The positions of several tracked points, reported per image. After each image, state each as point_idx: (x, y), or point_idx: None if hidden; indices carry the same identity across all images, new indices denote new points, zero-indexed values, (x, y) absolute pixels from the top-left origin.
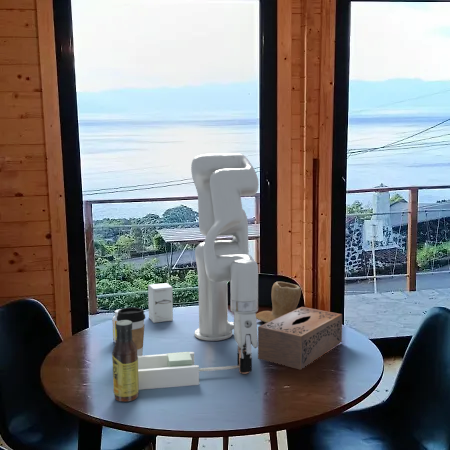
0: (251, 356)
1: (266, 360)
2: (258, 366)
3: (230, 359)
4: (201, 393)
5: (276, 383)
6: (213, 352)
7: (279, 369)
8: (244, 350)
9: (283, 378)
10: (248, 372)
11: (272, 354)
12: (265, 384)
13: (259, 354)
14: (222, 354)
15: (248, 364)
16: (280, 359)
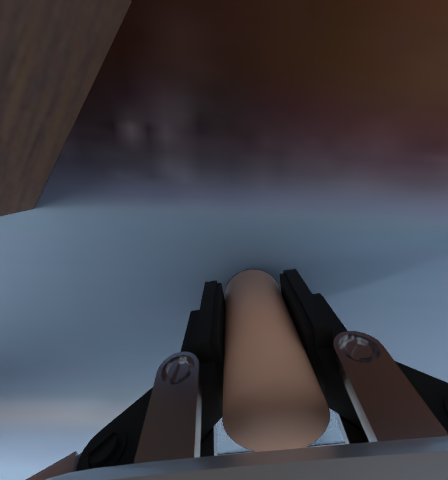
0: (385, 350)
1: (57, 156)
2: (160, 213)
3: (81, 343)
4: None
5: (436, 115)
6: (13, 402)
7: (204, 69)
8: (263, 419)
9: (367, 51)
10: (271, 276)
11: (30, 97)
12: (429, 189)
13: (10, 205)
14: (26, 372)
15: (332, 317)
16: (85, 27)
